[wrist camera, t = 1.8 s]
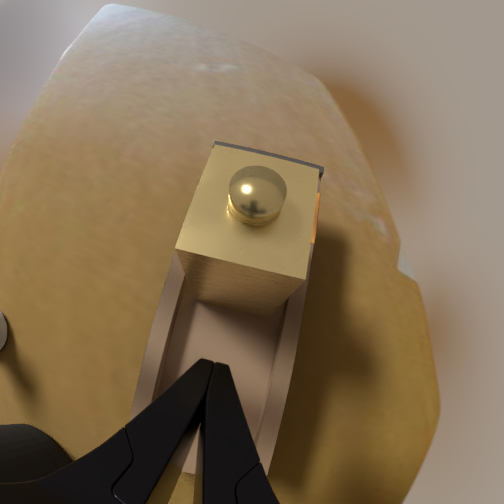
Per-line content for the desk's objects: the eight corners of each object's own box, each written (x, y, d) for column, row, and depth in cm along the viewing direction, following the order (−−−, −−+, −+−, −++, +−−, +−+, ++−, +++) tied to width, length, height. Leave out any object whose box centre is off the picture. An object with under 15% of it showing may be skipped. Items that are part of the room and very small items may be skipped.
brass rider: (268, 317, 17) (314, 270, 9) (194, 299, 17) (170, 235, 9) (282, 244, 19) (326, 154, 11) (215, 228, 19) (214, 127, 11)
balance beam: (257, 466, 16) (270, 497, 11) (139, 437, 16) (113, 459, 11) (308, 208, 25) (329, 168, 20) (210, 184, 25) (209, 140, 20)
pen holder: (51, 411, 16) (-29, 421, 6) (104, 506, 13) (52, 558, 4) (-6, 425, 13) (-76, 429, 4) (37, 508, 10) (-18, 539, 1)
